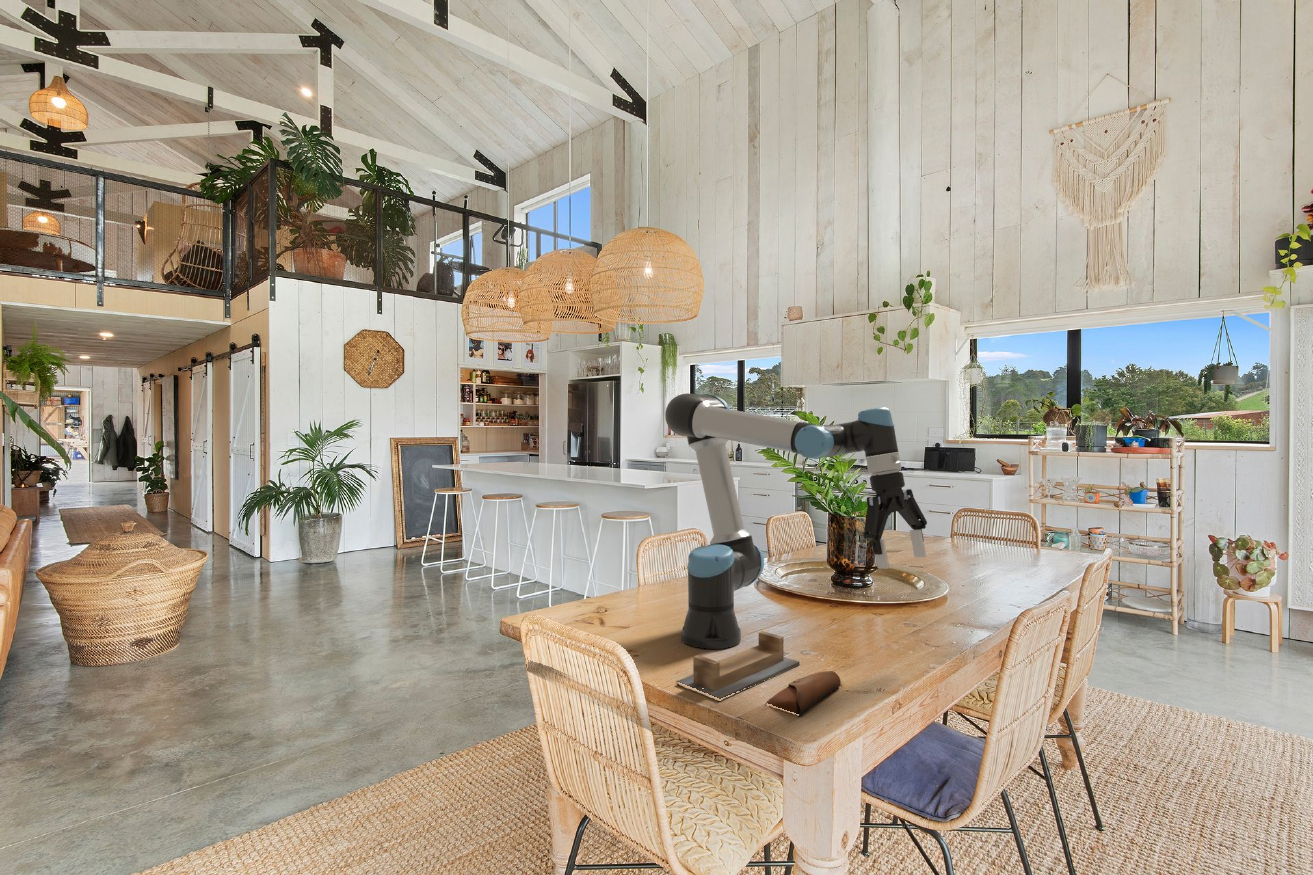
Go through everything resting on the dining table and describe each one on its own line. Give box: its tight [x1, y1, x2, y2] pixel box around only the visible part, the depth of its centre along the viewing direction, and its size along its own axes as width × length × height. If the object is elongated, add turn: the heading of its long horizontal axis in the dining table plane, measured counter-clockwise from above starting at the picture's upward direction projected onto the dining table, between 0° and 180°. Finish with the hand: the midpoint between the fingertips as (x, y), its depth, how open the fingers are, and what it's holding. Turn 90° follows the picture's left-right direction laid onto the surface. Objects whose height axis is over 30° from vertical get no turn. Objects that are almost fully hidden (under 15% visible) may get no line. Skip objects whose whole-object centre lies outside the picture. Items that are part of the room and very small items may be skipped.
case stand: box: [676, 630, 801, 699], centre depth 146 cm, size 12×28×6 cm, turn 134°
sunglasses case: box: [766, 670, 841, 716], centre depth 134 cm, size 18×7×7 cm
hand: (902, 562), depth 154 cm, fingers open, 13 cm apart
